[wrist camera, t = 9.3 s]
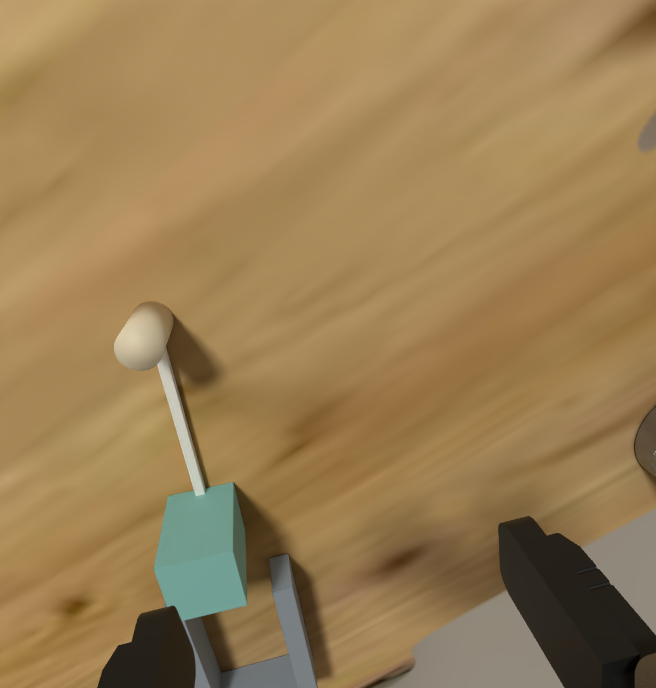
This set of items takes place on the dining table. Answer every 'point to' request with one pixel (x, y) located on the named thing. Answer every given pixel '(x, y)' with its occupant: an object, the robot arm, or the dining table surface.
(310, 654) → the lane
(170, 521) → the tethered block
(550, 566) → the robot arm
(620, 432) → the dining table surface
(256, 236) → the dining table surface
